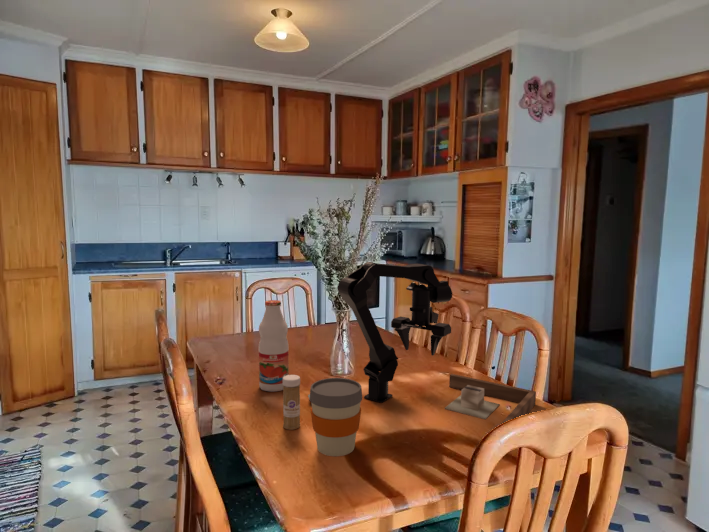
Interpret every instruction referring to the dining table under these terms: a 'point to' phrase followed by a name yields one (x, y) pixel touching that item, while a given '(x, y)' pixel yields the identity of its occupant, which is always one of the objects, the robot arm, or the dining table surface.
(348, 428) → the reusable coffee cup
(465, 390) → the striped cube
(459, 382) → the corner arena
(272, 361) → the fruit juice
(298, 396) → the sprinkles bottle
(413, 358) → the dining table surface
